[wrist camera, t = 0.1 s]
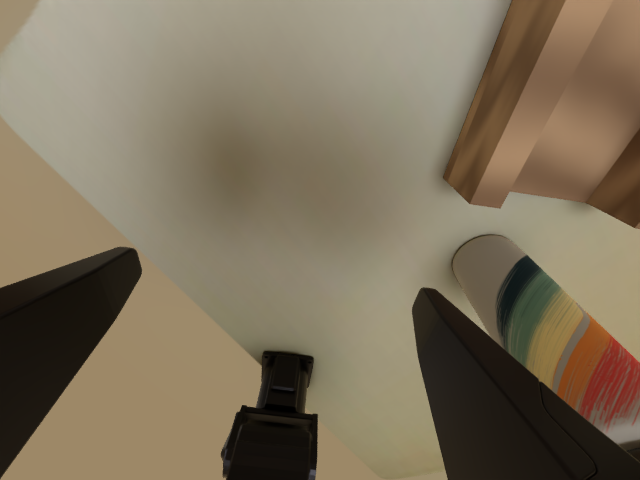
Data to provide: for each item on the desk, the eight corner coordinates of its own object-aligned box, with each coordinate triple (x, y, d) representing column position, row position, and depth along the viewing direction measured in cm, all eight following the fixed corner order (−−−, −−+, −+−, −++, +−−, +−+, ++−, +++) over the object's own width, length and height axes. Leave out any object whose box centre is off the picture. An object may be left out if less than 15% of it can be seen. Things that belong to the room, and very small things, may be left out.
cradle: (600, 201, 22) (663, 232, 18) (442, 177, 21) (469, 203, 17) (780, -40, 14) (967, -87, 10) (544, -83, 14) (636, -150, 10)
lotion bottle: (520, 269, 26) (881, 653, 9) (459, 289, 27) (662, 644, 10) (509, 223, 23) (982, 634, 6) (443, 248, 25) (674, 627, 8)
